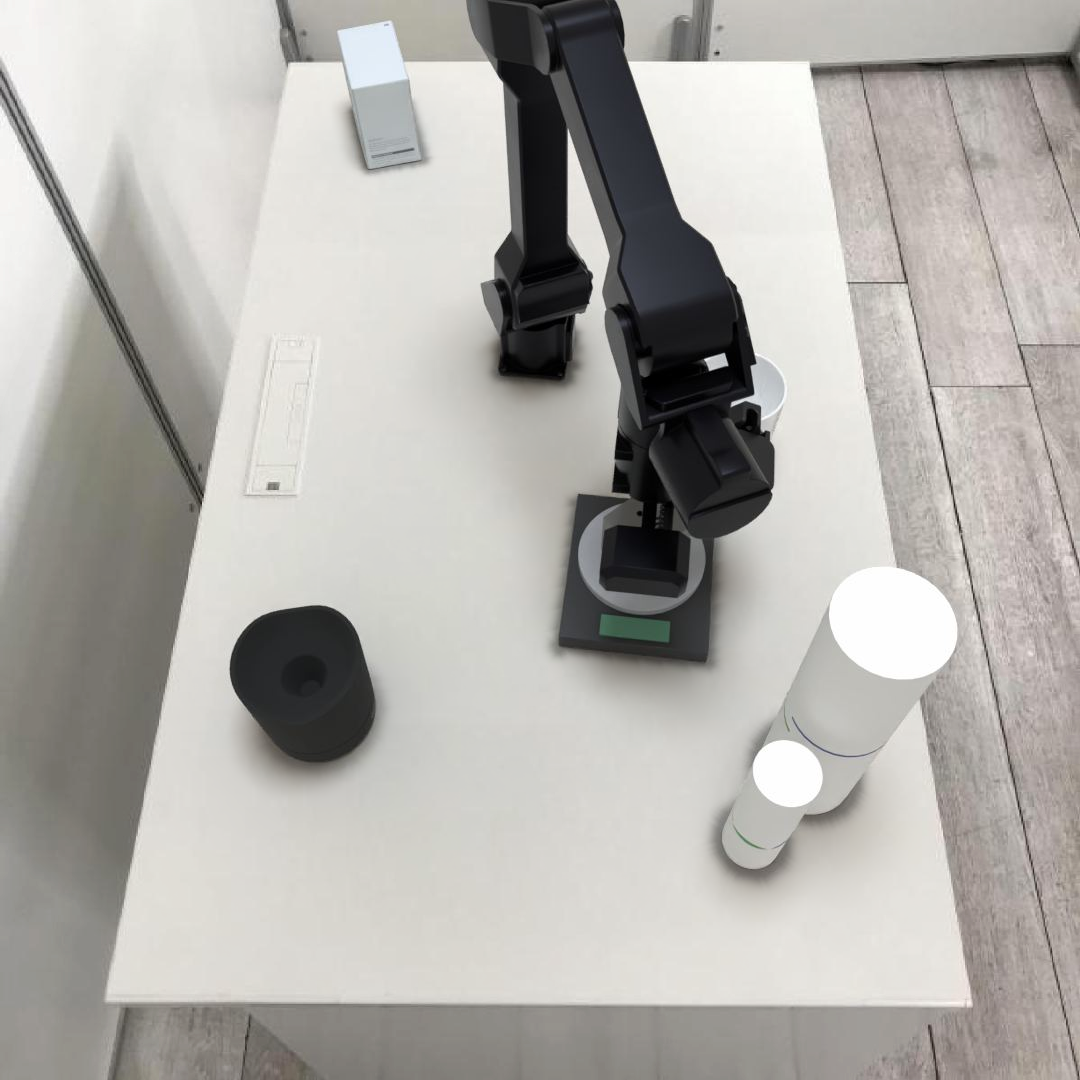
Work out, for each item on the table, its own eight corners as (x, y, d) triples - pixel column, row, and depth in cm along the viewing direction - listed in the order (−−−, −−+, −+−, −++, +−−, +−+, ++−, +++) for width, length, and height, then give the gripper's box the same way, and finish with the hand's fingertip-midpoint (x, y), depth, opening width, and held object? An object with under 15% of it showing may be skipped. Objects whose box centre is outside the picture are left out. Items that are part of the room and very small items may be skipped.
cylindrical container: (793, 831, 79) (880, 700, 58) (740, 749, 83) (804, 598, 61) (871, 787, 81) (984, 645, 59) (816, 709, 84) (904, 547, 63)
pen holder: (332, 791, 81) (306, 745, 73) (238, 730, 84) (202, 679, 76) (404, 694, 85) (387, 639, 77) (312, 638, 88) (286, 580, 80)
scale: (558, 646, 87) (558, 632, 85) (577, 504, 95) (578, 487, 92) (705, 662, 86) (709, 648, 84) (713, 517, 94) (717, 501, 91)
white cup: (762, 498, 95) (783, 429, 86) (674, 484, 96) (686, 414, 87) (771, 428, 99) (791, 356, 90) (686, 415, 100) (698, 343, 91)
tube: (717, 813, 80) (747, 743, 67) (773, 808, 80) (814, 737, 67) (727, 871, 78) (760, 810, 65) (785, 866, 78) (829, 803, 65)
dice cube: (640, 590, 87) (644, 559, 83) (601, 549, 89) (603, 517, 85) (685, 556, 89) (692, 524, 84) (645, 517, 91) (650, 484, 86)
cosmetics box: (351, 112, 123) (335, 27, 114) (406, 103, 124) (394, 18, 115) (365, 171, 118) (349, 87, 109) (422, 161, 119) (411, 77, 110)
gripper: (776, 546, 67) (741, 651, 81) (780, 326, 77) (748, 453, 90) (601, 528, 68) (595, 635, 82) (626, 313, 78) (617, 440, 91)
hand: (644, 536), depth 86 cm, fingers open, 9 cm apart
